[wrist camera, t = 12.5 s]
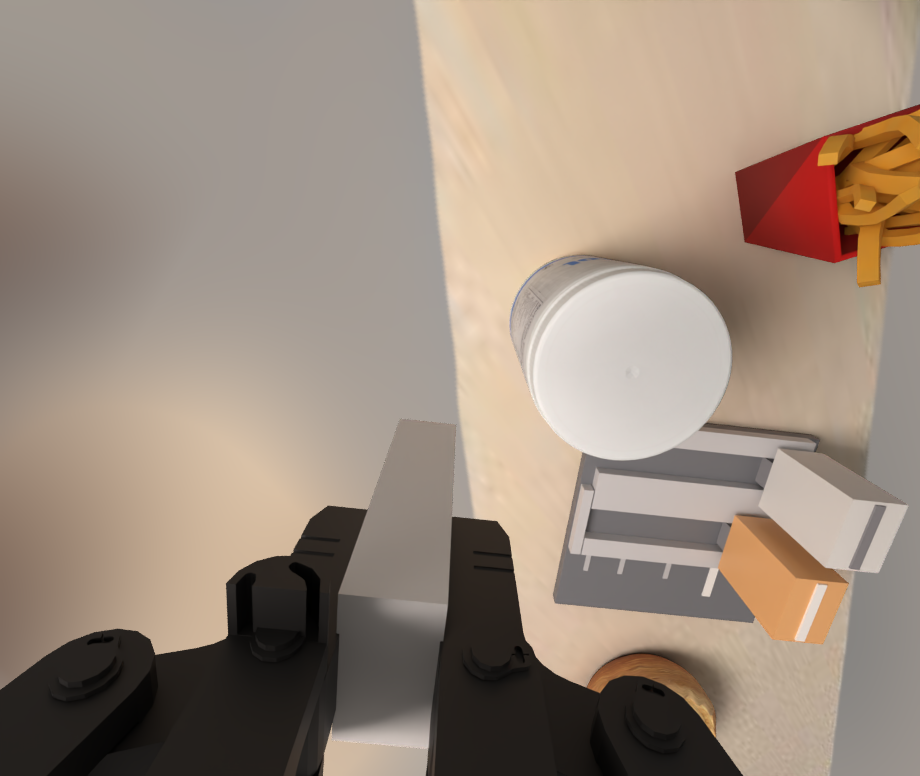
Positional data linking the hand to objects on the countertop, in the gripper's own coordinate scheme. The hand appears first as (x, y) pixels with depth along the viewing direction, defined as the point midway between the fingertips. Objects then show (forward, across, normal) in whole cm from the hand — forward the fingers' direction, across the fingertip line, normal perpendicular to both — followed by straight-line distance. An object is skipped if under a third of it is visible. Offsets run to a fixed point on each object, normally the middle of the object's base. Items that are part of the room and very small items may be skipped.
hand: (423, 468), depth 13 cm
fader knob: (+23, +26, -15) cm, 38 cm away
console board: (+24, +21, -15) cm, 36 cm away
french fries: (+25, +21, +10) cm, 34 cm away
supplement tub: (+25, +9, +1) cm, 26 cm away
